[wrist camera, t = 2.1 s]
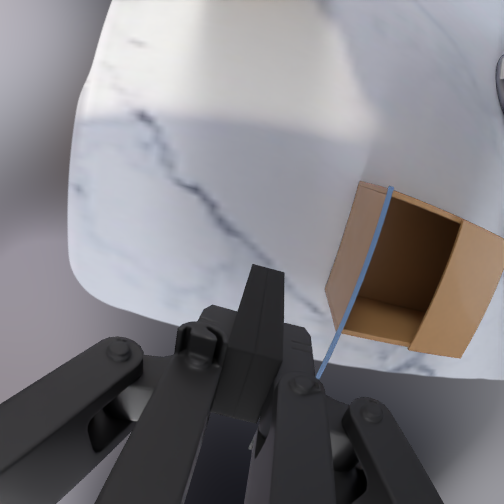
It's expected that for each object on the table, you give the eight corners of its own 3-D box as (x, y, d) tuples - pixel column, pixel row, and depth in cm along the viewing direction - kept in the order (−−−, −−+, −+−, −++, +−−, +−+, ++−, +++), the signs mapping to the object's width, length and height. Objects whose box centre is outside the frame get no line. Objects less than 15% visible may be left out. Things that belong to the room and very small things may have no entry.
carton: (324, 289, 34) (337, 336, 24) (359, 180, 30) (390, 189, 20) (427, 315, 34) (460, 359, 24) (464, 221, 30) (513, 243, 20)
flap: (338, 336, 24) (335, 334, 24) (391, 190, 20) (388, 188, 20) (316, 383, 18) (313, 381, 18) (394, 187, 14) (389, 185, 14)
